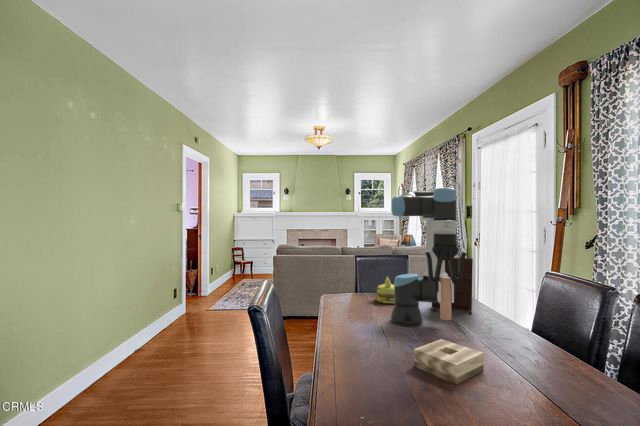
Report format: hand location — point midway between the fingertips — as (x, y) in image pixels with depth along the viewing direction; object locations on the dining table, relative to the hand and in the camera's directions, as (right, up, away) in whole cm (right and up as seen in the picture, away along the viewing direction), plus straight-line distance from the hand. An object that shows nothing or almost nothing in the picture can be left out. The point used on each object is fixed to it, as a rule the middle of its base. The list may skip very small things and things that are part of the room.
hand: (445, 301), depth 116 cm
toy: (-1, -25, +92) cm, 95 cm away
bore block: (+1, -23, 0) cm, 23 cm away
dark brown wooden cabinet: (+30, -24, +71) cm, 81 cm away
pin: (0, -6, 0) cm, 6 cm away
